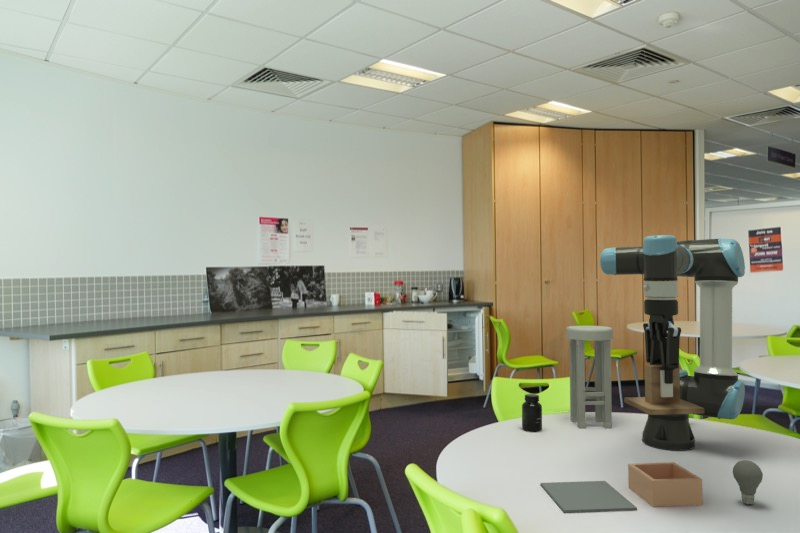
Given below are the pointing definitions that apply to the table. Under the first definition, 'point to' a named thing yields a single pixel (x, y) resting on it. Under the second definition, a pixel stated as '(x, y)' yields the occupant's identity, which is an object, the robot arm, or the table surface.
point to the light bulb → (747, 479)
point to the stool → (602, 373)
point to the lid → (659, 404)
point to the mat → (587, 497)
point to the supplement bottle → (532, 413)
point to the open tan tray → (665, 484)
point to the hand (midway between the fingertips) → (662, 394)
